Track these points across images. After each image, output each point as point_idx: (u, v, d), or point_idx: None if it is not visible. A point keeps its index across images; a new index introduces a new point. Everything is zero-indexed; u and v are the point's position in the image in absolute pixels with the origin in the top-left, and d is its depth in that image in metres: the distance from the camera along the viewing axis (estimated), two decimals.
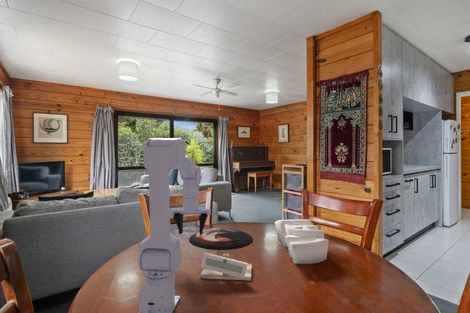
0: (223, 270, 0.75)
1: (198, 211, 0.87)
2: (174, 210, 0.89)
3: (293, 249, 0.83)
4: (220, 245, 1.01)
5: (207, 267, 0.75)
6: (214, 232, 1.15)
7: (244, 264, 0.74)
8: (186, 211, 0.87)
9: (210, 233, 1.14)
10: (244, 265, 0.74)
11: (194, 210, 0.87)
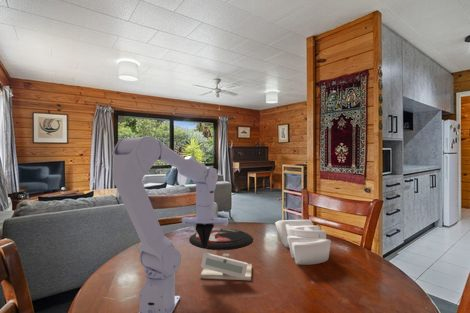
0: (223, 270, 0.75)
1: (214, 221, 0.74)
2: (185, 220, 0.76)
3: (296, 250, 0.83)
4: (220, 245, 1.01)
5: (207, 267, 0.75)
6: (214, 232, 1.15)
7: (244, 264, 0.74)
8: (200, 221, 0.74)
9: None
10: (244, 265, 0.74)
11: (209, 220, 0.74)
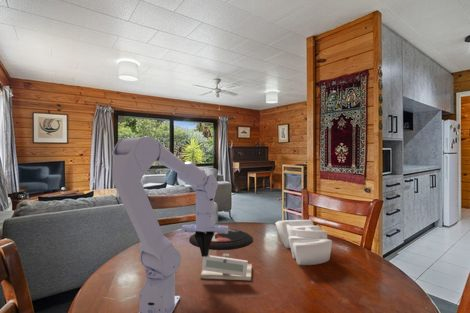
0: (224, 270, 0.74)
1: (214, 229, 0.73)
2: (185, 227, 0.75)
3: (297, 250, 0.82)
4: (220, 245, 1.01)
5: (208, 269, 0.75)
6: None
7: (244, 262, 0.74)
8: (200, 229, 0.73)
9: None
10: (244, 263, 0.74)
11: (209, 228, 0.73)
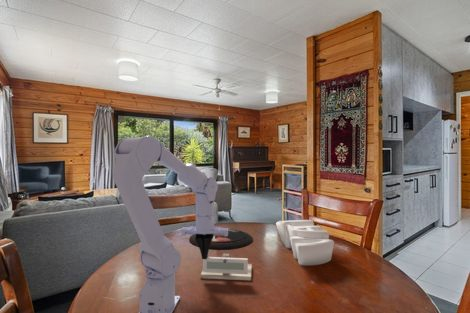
0: (225, 270, 0.74)
1: (214, 232, 0.73)
2: (185, 230, 0.75)
3: (300, 251, 0.82)
4: (220, 245, 1.01)
5: (209, 271, 0.75)
6: None
7: (244, 260, 0.74)
8: (199, 232, 0.73)
9: None
10: (244, 261, 0.74)
11: (209, 231, 0.73)
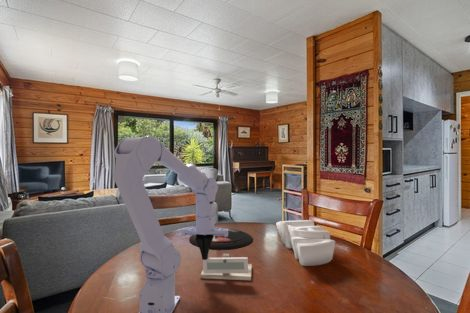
0: (226, 270, 0.74)
1: (214, 232, 0.73)
2: (185, 230, 0.75)
3: (301, 251, 0.82)
4: (220, 245, 1.01)
5: (210, 271, 0.75)
6: None
7: (244, 259, 0.74)
8: (200, 232, 0.73)
9: None
10: (244, 260, 0.74)
11: (209, 231, 0.73)
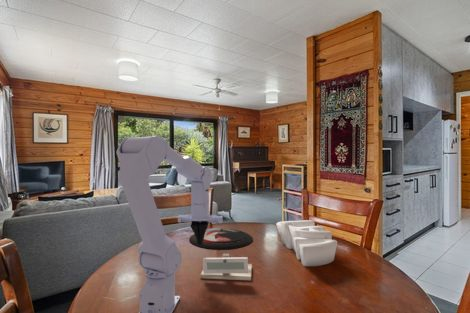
0: (226, 270, 0.74)
1: (208, 219, 0.76)
2: (181, 217, 0.78)
3: (304, 252, 0.81)
4: (220, 245, 1.01)
5: (210, 271, 0.75)
6: (214, 232, 1.15)
7: (244, 259, 0.74)
8: (195, 219, 0.76)
9: (210, 233, 1.14)
10: (244, 260, 0.74)
11: (204, 218, 0.76)
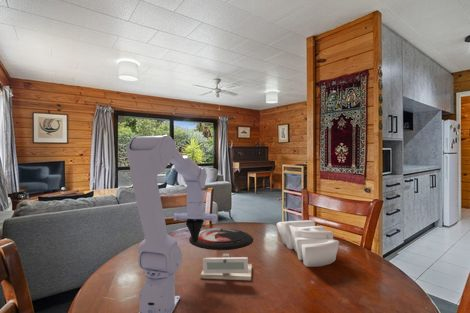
0: (226, 270, 0.74)
1: (203, 217, 0.79)
2: (177, 215, 0.81)
3: (306, 252, 0.81)
4: (220, 245, 1.01)
5: (210, 271, 0.75)
6: (214, 232, 1.15)
7: (244, 259, 0.74)
8: (190, 217, 0.79)
9: (210, 233, 1.14)
10: (244, 260, 0.74)
11: (199, 216, 0.79)
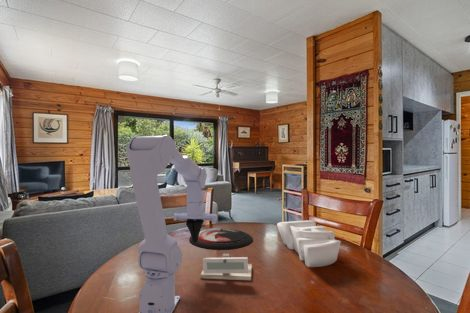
0: (226, 270, 0.74)
1: (203, 217, 0.79)
2: (177, 215, 0.81)
3: (309, 252, 0.80)
4: (220, 245, 1.01)
5: (210, 271, 0.75)
6: (214, 232, 1.15)
7: (244, 259, 0.74)
8: (190, 217, 0.79)
9: (210, 233, 1.14)
10: (244, 260, 0.74)
11: (199, 216, 0.79)
